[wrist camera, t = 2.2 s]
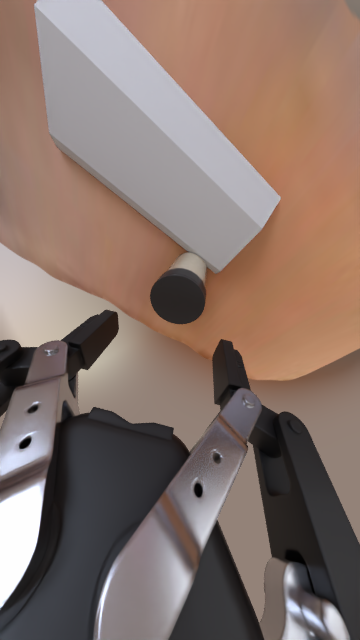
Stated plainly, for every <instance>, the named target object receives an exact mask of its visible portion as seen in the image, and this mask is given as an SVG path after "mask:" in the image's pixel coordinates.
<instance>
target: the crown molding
mask: <svg viewBox="0 0 360 640" xmlns="http://www.w3.org/2000/svg"><path fill="white" fill-rule="evenodd" d="M34 8H35V17H36V25H37V34H38V42H39V51H40V59H41V68H42V76H43V84H44V93H45V101H46V110H47V118H48V127H49V133H50V135H51V137H52V139H53V141H54V143H55V144H56V146H57V147H58V148H59V149H60V150H61V151H63V152H64V153H65V154H66V155H68V156H69V157H70V158H71V159H73V160H74V161H75V162H76V163H78V164H79V165H80V166H81V167H83V168H84V169H85V170H86V171H88V172H89V173H90V174H91V175H93V176H94V177H95V178H96V179H98V180H99V181H100V182H102V183H103V184H104V185H105V186H107V187H108V188H109V189H110V190H112V191H113V192H114V193H115V194H117V195H118V196H119V197H120V198H122V199H123V200H124V201H125V202H127V203H128V204H129V205H130V206H132V207H133V208H134V209H135V210H137V211H138V212H139V213H140V214H142V215H143V216H144V217H145V218H147V219H148V220H149V221H150V222H152V223H153V224H154V225H155V226H157V227H158V228H159V229H160V230H162V231H163V232H164V233H165V234H167V235H168V236H169V237H170V238H172V239H173V240H174V241H175V242H177V243H178V244H179V245H180V246H182V247H183V248H184V249H185V250H187V251H188V252H191V253H194V254H196V255H198V256H199V257H201V258H202V259H203V260H204V262H205V263H206V265H207V267H208V268H209V269H210V270H212V271H213V272H214V273H215V274H216V273H218V272H220V271H221V270H222V269H223V268H224V267H225V266H226V265H227V264H228V263H229V262H230V261H231V260H232V259H233V258H234V257H235V256H236V255H237V254H238V253H239V252H240V251H241V250H242V249H243V248H244V247H245V246H246V245H247V244H248V243H249V242H250V241H251V240H252V239H253V238H254V237H255V236H256V235H257V234H258V233H259V232H260V231H261V230H262V228H263V227H264V225H265V223H266V222H267V220H268V219H269V217H270V215H271V214H272V212H273V210H274V209H275V207H276V205H277V204H278V202H279V201H280V199H281V197H280V196H279V195H278V194H277V193H276V192H275V191H274V190H273V188H272V187H271V186H270V185H269V184H268V183H267V182H266V181H265V180H264V179H263V177H262V176H261V175H260V174H259V173H258V172H257V171H256V170H255V169H254V168H253V166H252V165H251V164H250V163H249V162H248V161H247V160H246V159H245V158H244V157H243V155H242V154H241V153H240V152H239V151H238V150H237V149H236V148H235V147H234V146H233V144H232V143H231V142H230V141H229V140H228V139H227V138H226V137H225V136H224V135H223V134H222V132H221V131H220V130H219V129H218V128H217V127H216V126H215V125H214V124H213V123H212V121H211V120H210V119H209V118H208V117H207V116H206V115H205V114H204V113H203V112H202V110H201V109H200V108H199V107H198V106H197V105H196V104H195V103H194V102H193V101H192V99H191V98H190V97H189V96H188V95H187V94H186V93H185V92H184V91H183V90H182V88H181V87H180V86H179V85H178V84H177V83H176V82H175V81H174V80H173V79H172V78H171V76H170V75H169V74H168V73H167V72H166V71H165V70H164V69H163V68H162V67H161V65H160V64H159V63H158V62H157V61H156V60H155V59H154V58H153V57H152V56H151V54H150V53H149V52H148V51H147V50H146V49H145V48H144V47H143V46H142V45H141V43H140V42H139V41H138V40H137V39H136V38H135V37H134V36H133V35H132V34H131V32H130V31H129V30H128V29H127V28H126V27H125V26H124V25H123V24H122V23H121V22H120V20H119V19H118V18H117V17H116V16H115V15H114V14H113V13H112V12H111V11H110V9H109V8H108V7H107V6H106V5H105V4H104V3H103V2H102V1H101V0H38V1H37V2H36V3H35V4H34Z"/></svg>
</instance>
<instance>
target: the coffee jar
mask: <svg viewBox="0 0 360 640" xmlns="http://www.w3.org/2000/svg"><path fill="white" fill-rule="evenodd" d="M174 268H184V269H188V270H190V271H192V272H194V273H195V274H197V275H198V276H199V277H200V278H201V280H202V281H203V283H204V286H205V285H206V276H207V265H206V263H205V262H204V260H203V259H202V258H201V257H199V256H198V255H196V254H194V253H191V252H187V253H183V254H181V255H180V256H178V257H177V259H176V260H175V261H174V262H173V264H172V265H171V266H170V267H169V269H168V270H170V269H174ZM168 270H167V271H168Z"/></svg>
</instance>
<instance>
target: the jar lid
mask: <svg viewBox="0 0 360 640" xmlns="http://www.w3.org/2000/svg"><path fill="white" fill-rule="evenodd" d="M205 297H206V289H205V286H204V283H203V281H202V280H201V278H200V277H199V276H198V275H197V274H195V273H194V272H192V271H190V270H188V269H184V268H174V269H170V270H168V271H166V272H165V273H164V274H162V276H161V277H160V278H159V279H158V280H157V282H156V283H155V284H154V286H153V287H152V290H151V294H150V299H151V304H152V306H153V308H154V310H155V311H156V313H157V314H158V315H159V316H160V317H161V318H163V319H164V320H166V321H168V322H171V323H175V324H187V323H190V322H193V321H194V320H196V319H197V318H198V317H199V316H200V315H201V314H202V312H203V310H204V307H205Z"/></svg>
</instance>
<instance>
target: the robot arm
mask: <svg viewBox="0 0 360 640" xmlns="http://www.w3.org/2000/svg"><path fill="white" fill-rule="evenodd" d="M118 329H119V325H118V314H117V312H114V311H110V310H105V311H103V312H102V313H101V314H100V315H98V314H97V315H95V316H92V317H90V318H89V319H87V320H86V321H85V322H84V323H82V324H81V325H80V326H79V327H77V328H76V329H75V330H73V331H72V332H71V333H70V334H68V335H67V336H66V337H65V338H63V339H62V340H61V341H59V340H58V341H51V342H47V343H44V344H42V345H41V346H39V347H21V346H20V344H19V343H18V342H17V341H15V340H2V341H0V416H1V415H3V413H4V412H6V411H7V412H6V415H5V418H4V420H3V424H2V426H1V429H0V640H360V544H359V542H358V540H357V538H356V536H355V533H354V531H353V529H352V527H351V524H350V522H349V520H348V518H347V516H346V514H345V511H344V509H343V507H342V504H341V502H340V500H339V498H338V496H337V494H336V491H335V489H334V487H333V485H332V482H331V480H330V478H329V476H328V474H327V471H326V469H325V467H324V465H323V463H322V461H321V458H320V456H319V454H318V452H317V450H316V447H315V445H314V443H313V441H312V438H311V436H310V434H309V432H308V430H307V428H306V427H305V425H304V424H303V423H302V422H301V421H300V420H299V419H298V418H297V417H296V416H294V415H293V414H291V413H289V412H281V413H280V414H277V413H275V412H273V411H272V410H270V409H268V408H266V407H265V406H263V405H262V404H261V402H260V400H259V398H258V397H257V396H256V395H255V394H254V393H253V392H252V391H251V390H250V386H249V382H248V378H247V375H246V371H245V367H244V364H243V360H242V356H241V355H240V353H239V352H238V351H237V350H234V348H233V344H232V342H231V341H227V340H223V339H221V340H220V342H219V344H218V346H217V348H216V350H215V352H214V354H213V360H212V361H213V382H214V402H215V404H217V405H220V409H221V411H220V412H219V413H218V415H217V416H216V418H215V419H214V420H213V421H212V423H211V424H210V425H209V427H208V428H207V429H206V431H205V432H204V433H203V435H202V436H201V437H200V439H199V440H198V441H197V442H196V444H195V445H194V446H193V448H192V449H191V451H190V452H189V450H188V449H187V447H186V446H185V444H184V443H183V442H182V441H181V440H180V439H179V438H178V437H177V436H175V435H174V434H173V430H174V428H172V427H168V426H165V425H160V424H157V423H138V424H132V423H129V422H128V421H126V420H125V419H123V418H122V417H120V416H119V415H117V414H116V413H114V412H112V411H108V410H104V409H100V408H96V407H93V409H92V410H91V412H90V413H84V414H80V413H79V407H78V371H79V370H80V369H81V368H82V369H85V370H88V369H89V368H90V367H91V366H92V364H93V363H94V362H95V361H96V360H97V358H98V357H99V356H100V355H101V354H102V352H103V351H104V350H105V349H106V347H107V346H108V345H109V344H110V343H111V341H112V340H113V339H114V337H115V336H116V335H117V333H118ZM247 441H248V442H250V443H251V444H253V448H254V454H255V460H256V466H257V472H258V478H259V484H260V489H261V495H262V501H263V507H264V513H265V519H266V525H267V531H268V536H269V543H270V548H271V554H272V558H271V559H270V560H269V561H268V562H267V565H266V568H265V574H264V591H265V608H264V613H263V617H262V619H261V621H260V623H259V622H258V619H257V617H256V614H255V611H254V609H253V606H252V604H251V601H250V599H249V597H248V594H247V592H246V589H245V587H244V584H243V582H242V580H241V577H240V574H239V572H238V570H237V567H236V564H235V562H234V559H233V557H232V555H231V552H230V550H229V547H228V545H227V542H226V540H225V537H224V535H223V532H222V530H221V527H220V525H219V522H218V520H217V518H218V516H219V514H220V512H221V509H222V507H223V505H224V503H225V500H226V498H227V496H228V494H229V491H230V489H231V487H232V485H233V483H234V480H235V478H236V476H237V474H238V471H239V469H240V467H241V465H242V462H243V460H244V458H245V456H246V453H247V450H248V446H247Z"/></svg>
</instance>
